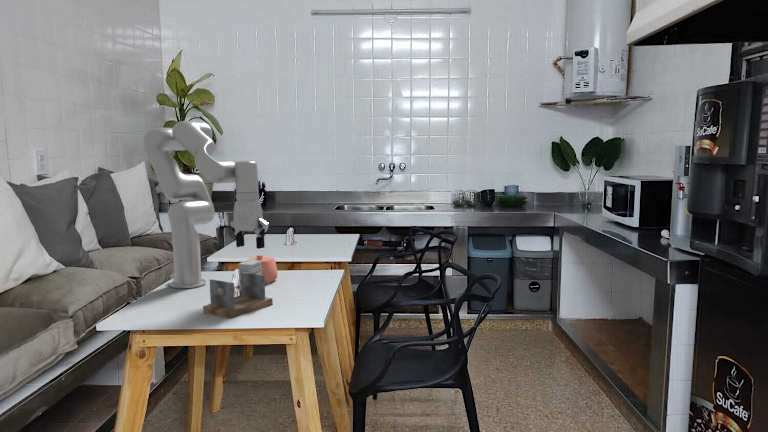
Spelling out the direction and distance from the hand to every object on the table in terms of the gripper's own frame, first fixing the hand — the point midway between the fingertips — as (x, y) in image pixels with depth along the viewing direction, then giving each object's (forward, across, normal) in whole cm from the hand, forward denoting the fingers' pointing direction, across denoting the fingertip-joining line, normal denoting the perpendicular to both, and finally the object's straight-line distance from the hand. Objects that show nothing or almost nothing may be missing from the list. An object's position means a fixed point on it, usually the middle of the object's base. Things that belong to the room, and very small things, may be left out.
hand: (250, 247), depth 196 cm
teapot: (+17, -13, +16) cm, 27 cm away
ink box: (+17, -1, 0) cm, 17 cm away
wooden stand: (+17, +8, -14) cm, 24 cm away
